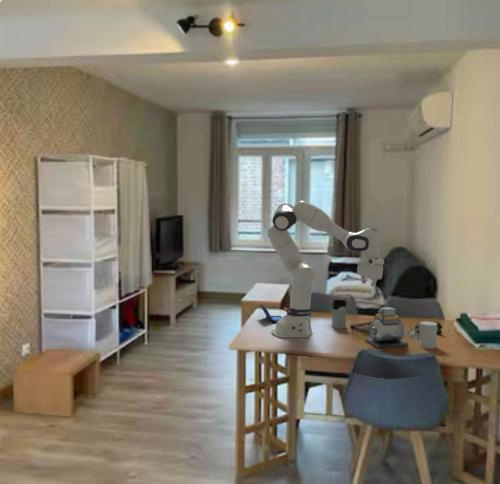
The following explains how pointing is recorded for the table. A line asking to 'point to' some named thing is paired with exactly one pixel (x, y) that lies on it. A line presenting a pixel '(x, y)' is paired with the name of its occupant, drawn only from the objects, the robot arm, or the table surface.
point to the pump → (387, 311)
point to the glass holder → (338, 314)
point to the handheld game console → (272, 318)
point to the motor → (386, 332)
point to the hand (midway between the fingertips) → (368, 285)
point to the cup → (428, 335)
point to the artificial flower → (416, 334)
